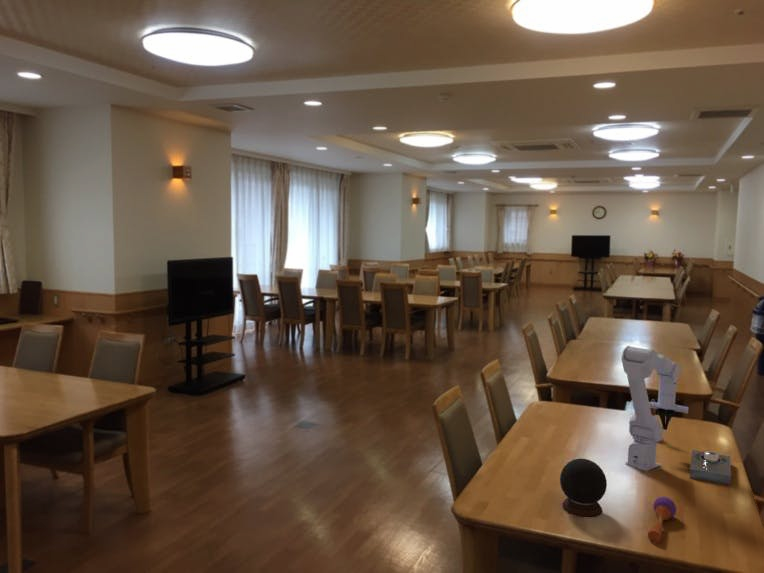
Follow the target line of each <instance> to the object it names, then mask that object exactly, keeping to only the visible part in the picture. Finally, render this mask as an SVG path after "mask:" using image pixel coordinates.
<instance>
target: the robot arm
mask: <svg viewBox="0 0 764 573" xmlns="http://www.w3.org/2000/svg"><path fill="white" fill-rule="evenodd" d="M621 363H622V368H623V372H624V373H625V374H626V377H627V382H628V386H629V387H628V388H629V391H630V392H629V393H630V396H631V401H632V406H633V410H634V414H633V415H632V416H631V417H630V419H629V423H628V424H629V426H628V431H629V434H630V436H631V437H632V440H633V442H631V444H630V445H629V446H628V449H627V450H628V451H627V461H626V462H625V465H628V466H630V467H634V468H636V469H639V470H642V471H644V472H647V471H649V470H652V469H655V468H657V467H660V466H661V465H662V464H661V463H659V462H656V460H657V459H656V458H657V457H656V456H657V443H658V442H661V441H660V440H661V438H663V435H664V430H668V426H669V424H670V421H671V419H672V417H673V416H674V414H675V412H678V413H684V414H689V407H688V406H684V405H679V404H676V394H677V393H676V392H677V382H678V380H679V375H680V373H681V369H680V368H681V367H680V365H679V363H677V362H676V361H671V359H670V358H667V357H666V355H665V354H662V353H661V354H658V353H657V350H656V349H649V348H648V349H647V348H642V347H634V346H631V345H627V346H626V347H624V348H623V351H622V354H621ZM654 370H655V371H656V374H657V375H658V376H659V378H658V395H657V396H658V397H657V402H656V401H655V402H651V401H649V396H648V391H647V386H646V385H647V384H646V380H645V379H647V378H650V377H651V375H652V373H653V371H654ZM650 408H655V409H656V410H657V414H658V417H659V419H660V420H659V419H658V418H657V417H654V416H653V415H652V414H651V410H650ZM660 421H661V422H660Z"/></svg>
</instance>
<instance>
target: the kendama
mask: <svg viewBox="0 0 764 573" xmlns="http://www.w3.org/2000/svg"><path fill="white" fill-rule="evenodd" d="M653 510H654V513H655V516H656V517H657V518H658V519H657V520H656V521H655V522H654V524H653V526H652V527H651V528H650V530H649V531H648V533H647V538H648V540H650V541H651V542H654V543H658V544H659V543H660V542H661V541H662V537H663V536H662V535H663V534H662V533H663V524H664V521H668V520H670V519H671V518H673V517H675V515H676V513H677V506H676V504H675V502H674V501H673V500H672V499H671V498H669V497H667V496H659V497H658V498H656V499H655V500H654V502H653Z"/></svg>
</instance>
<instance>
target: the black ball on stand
mask: <svg viewBox="0 0 764 573" xmlns="http://www.w3.org/2000/svg"><path fill="white" fill-rule="evenodd" d="M607 482H608V481H607V478H606V474H605V472H604V470H603V469H602V468H601V467H600V465H598V464H597V463H596V462H595V461H592V460H590V459H587V458H576V459H572V460H570V461H568V462H567V463H566V464H565V465H564V466H563V468H562V469H561V473H560V477H559V483H560V488H561V490H562V492H563V494H564V495H565V497H566V498H565V499H564V500H563V501H562V506H563V507H562V509H563V510H564V511H565V512H566V511H567V512H566V513H567V514H569V515H572V514H573V515H572V516H574V515H576V516H575V517H578V516H579V517H578V518H584V517H589V518H588V519H590V518H591V517H593V518H597V516H598V517H600V516H601V515H602V513H603V508H602V506H601V505H600V503H599V501H600V500H601V499H602V498H603V497H604V496H605V494H606V492H607V487H608V486H607V485H608V484H607Z"/></svg>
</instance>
